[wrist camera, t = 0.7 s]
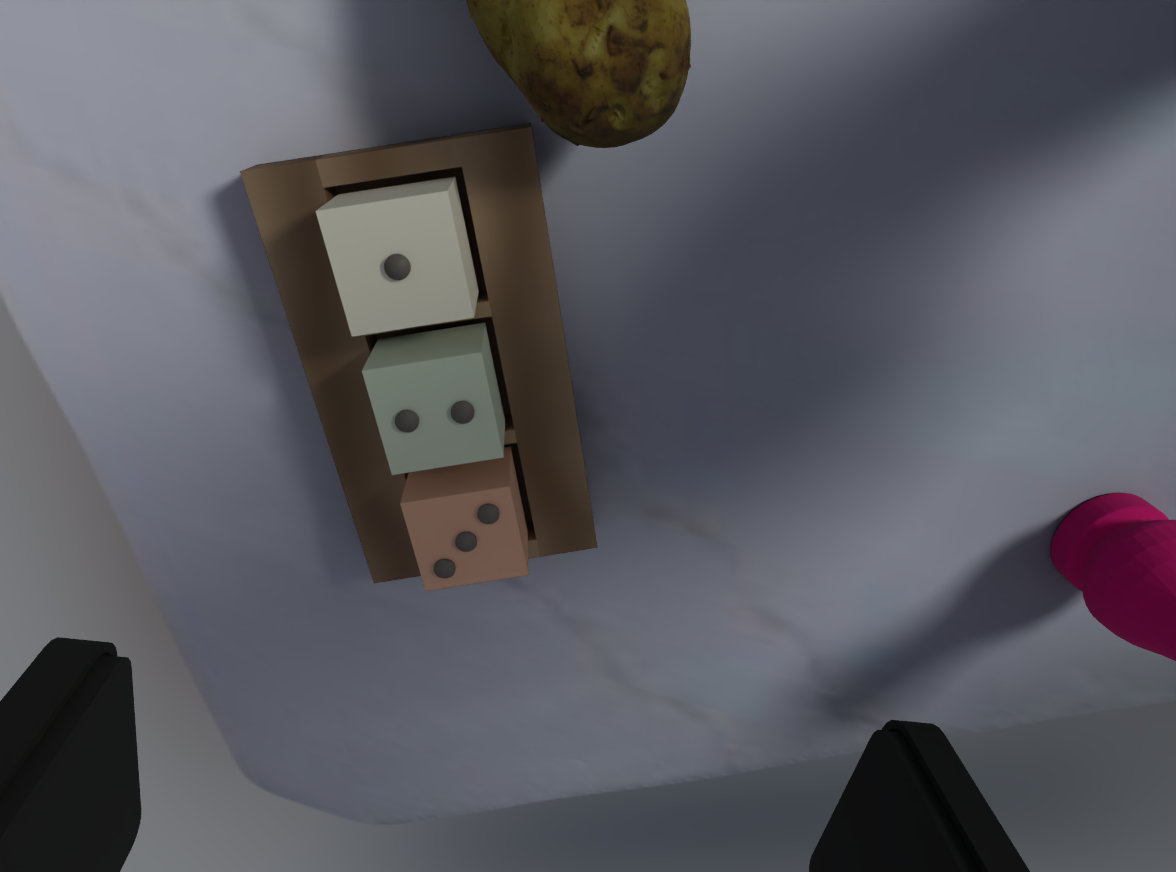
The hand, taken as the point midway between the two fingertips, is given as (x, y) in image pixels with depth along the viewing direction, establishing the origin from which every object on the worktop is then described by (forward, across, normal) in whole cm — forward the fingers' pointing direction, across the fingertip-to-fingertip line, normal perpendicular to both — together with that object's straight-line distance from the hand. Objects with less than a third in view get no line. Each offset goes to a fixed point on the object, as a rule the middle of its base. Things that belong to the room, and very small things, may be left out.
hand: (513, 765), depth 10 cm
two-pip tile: (+27, +3, +6) cm, 28 cm away
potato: (+29, 0, -11) cm, 31 cm away
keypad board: (+29, +3, +6) cm, 30 cm away
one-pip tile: (+27, +5, 0) cm, 28 cm away
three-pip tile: (+27, 0, +12) cm, 30 cm away
